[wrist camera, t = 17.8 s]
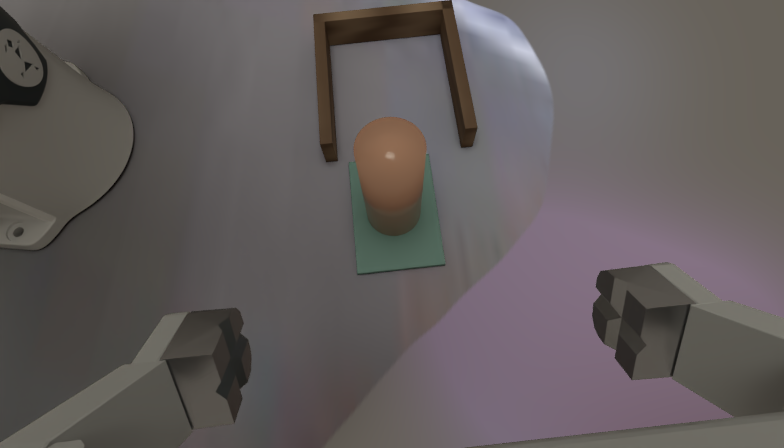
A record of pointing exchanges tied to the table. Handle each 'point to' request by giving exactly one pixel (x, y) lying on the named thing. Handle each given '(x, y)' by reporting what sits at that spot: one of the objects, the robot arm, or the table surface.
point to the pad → (400, 250)
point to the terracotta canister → (391, 173)
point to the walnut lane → (384, 27)
